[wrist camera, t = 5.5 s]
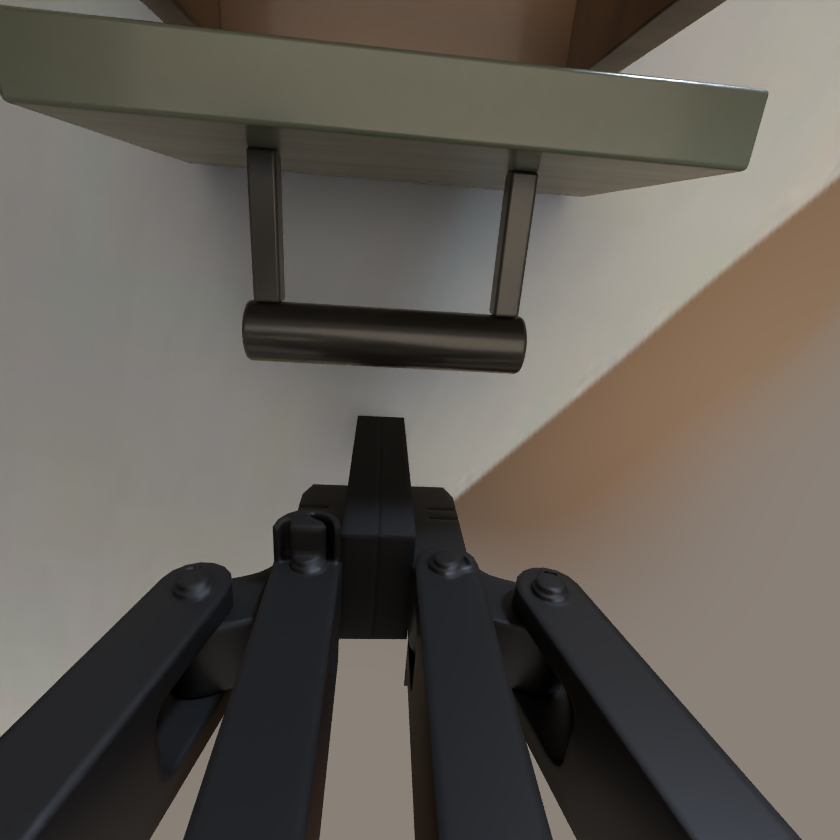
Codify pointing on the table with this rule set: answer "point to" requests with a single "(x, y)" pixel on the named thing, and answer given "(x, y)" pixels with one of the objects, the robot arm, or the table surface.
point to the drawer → (389, 126)
